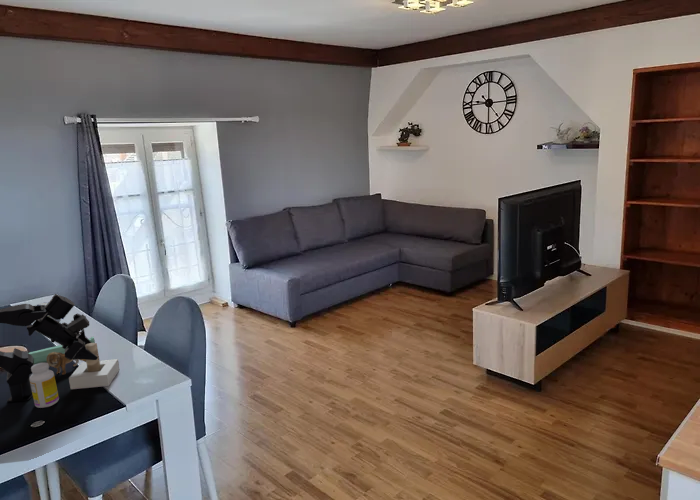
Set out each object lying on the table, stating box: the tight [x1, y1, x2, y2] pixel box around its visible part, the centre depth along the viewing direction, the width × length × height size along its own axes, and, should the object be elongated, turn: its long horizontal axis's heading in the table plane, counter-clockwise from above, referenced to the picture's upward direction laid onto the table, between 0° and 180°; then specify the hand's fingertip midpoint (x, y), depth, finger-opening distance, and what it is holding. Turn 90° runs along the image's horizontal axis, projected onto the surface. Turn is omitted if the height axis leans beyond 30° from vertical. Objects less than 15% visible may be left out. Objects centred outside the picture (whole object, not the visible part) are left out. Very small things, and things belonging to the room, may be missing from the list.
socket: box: [68, 358, 120, 390], centre depth 175 cm, size 12×12×4 cm
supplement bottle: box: [29, 362, 60, 409], centre depth 159 cm, size 7×7×13 cm
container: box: [28, 336, 96, 365], centre depth 193 cm, size 6×6×25 cm
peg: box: [85, 342, 101, 372], centre depth 174 cm, size 4×4×12 cm
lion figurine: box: [46, 352, 86, 375], centre depth 182 cm, size 15×5×9 cm, turn 154°
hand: (96, 353), depth 174 cm, fingers open, 9 cm apart
